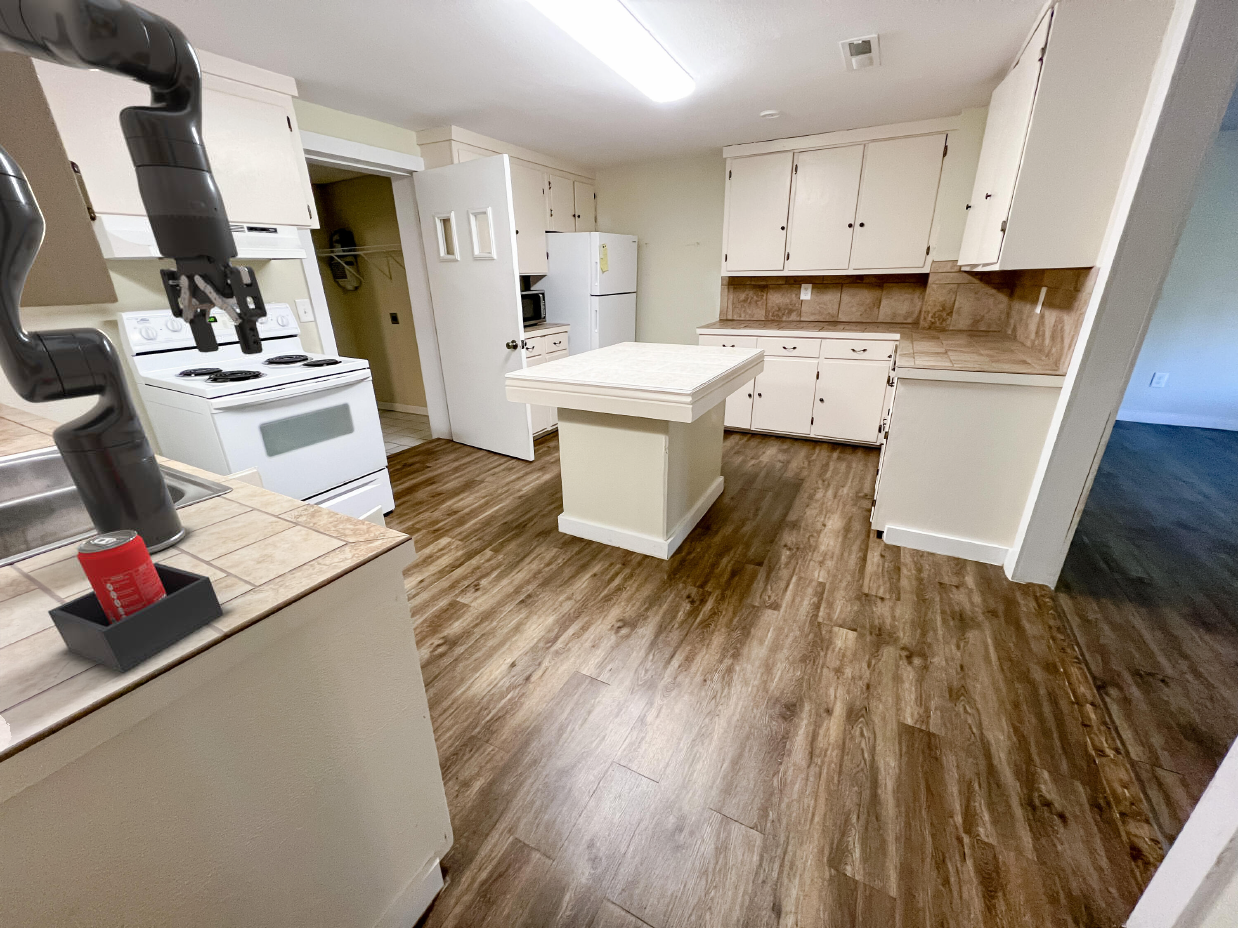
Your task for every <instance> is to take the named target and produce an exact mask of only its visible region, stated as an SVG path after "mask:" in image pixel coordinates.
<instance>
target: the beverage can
mask: <svg viewBox="0 0 1238 928" xmlns="http://www.w3.org/2000/svg"><path fill="white" fill-rule="evenodd" d="M76 550H77V552H78V553H77V555H76V557H77V560H78V562H79V564H80V566H81V568H82V570H83V572H84V574H85V576H86V578H87V580H88V582H89V584H90V585H91V588H92V591H94V592H95V594H96V596H97V598H98V600H99V602H100V604H101V606H102V608H103V610H104V612H105V614H106V616H107V618H108V620H109V622H110V624H111V625H112V624H114V623H115V622H117V621H119V620H121V619H123V618H125V617H127V616H129V615H131V614H133V613H135V612H137V611H139V610H141V609H143V608H145V607H147V606H149V605H151V604H153V603H155V602H157V601H159V600H161V599H163V598H165V597H167V594H166V592H165V590H164V587H163V585H162V583H161V580H160V578H159V576H158V573H157V571H156V569H155V567H154V562H153V559H152V558H151V554H149V553H148V550H147V548H146V546H145V543H144V541H143V539H142V537H140V536H139V535H137V533H136V532H135V531H133V530H122V531H116V532H111V533H107V534H103V535H100V536H98V535H97V536H95V537H92V538H89V539H88V540H85V541H83V542H82V543H81V544H80V545H78V546H77V548H76Z"/></svg>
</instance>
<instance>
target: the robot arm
mask: <svg viewBox="0 0 1238 928" xmlns="http://www.w3.org/2000/svg"><path fill="white" fill-rule="evenodd" d="M0 53H9V54H10V53H12V54H18V55H22V56H24V57H29V58H32V59H36V60H40V61H43V62H48V63H51V64H55V65H59V66H64V67H69V68H73V69H77V70H83V71H92V72H93V71H97V72H98V71H100V72H104V73H107V74H111V75H114V76H117V77H119V78H123V79H126V80H130V81H133V82H136V83H139V84H142V85H145V86H148V89H149V93H150V101H149V105H130V106H125V107H124V108H122V109H121V110H120V111H119V114H118V122H119V126H120V130H121V133H122V135H123V139H124V142H125V144H126V148H127V151H128V154H129V157H130V160H131V162H132V166H133V169H134V172H135V177H136V181H137V187H138V192H139V196H140V199H141V201H142V204H143V207H144V210H145V213H146V216H147V219H148V222H149V226H150V228H151V231H152V234H153V237H154V240H155V244H156V246H157V250H158V252H159V254H160V255H161V256H162V257H163V258H165V259H172V260H174V262H175V265H176V268H161V269H159V274H160V278H161V281H162V284H163V288H164V291H165V295H166V297H167V301H168V305H169V308H170V310H171V311H170V312H171V314H172V316H173V317H174V318H175V319H182V320H183V322H184V323H186V324H188V325H189V328H190V331H191V333H192V337H193V340H194V344H195V346H196V349H197V351H198V352H200V353H205V354H206V353H214V352H218V351H219V349H220V347H219V344H218V340H217V338H216V334H215V330H214V329H213V325H212V322H209V321H210V316H211V311H212V309H215V307H216V308H217V309H219V310H221V311H224V312H225V313H226V314H227V316H228V317H229V318H230V320H231V321H232V322H233V323H234V324H233V327H234V331H235V333H236V337H237V341H238V343H239V347H240V350H241V352H242V354H244V355H256V354H261V353H263V351H264V350H263V344H262V340H261V336H260V332H259V329H258V326H257V323H258V322H259V320H260V319H262V318H266V317H267V316H268V311H267V309H266V305H265V302H264V299H263V296H262V293H261V290H260V286H259V283H258V280H257V276H256V273H255V270H254V268H253V267H252V266H250V265H249V266H246V265H245V266H242V265H240V266H238V265H237V266H236V265H235V266H234V265H233V264H232V262H231V259H236V258H237V257H238V256H239V253H238V248H237V245H236V242H235V239H234V233H233V231H232V227H231V224H230V221H229V217H228V214H227V209H226V206H225V203H224V199H223V196H222V194H221V191H220V189H219V186H218V184H217V182H216V178H215V176H214V173H213V169H212V166H211V163H210V159H209V155H208V151H207V148H206V144H205V142H204V139H203V74H202V68H201V64H200V61H199V57H198V55H197V52H196V51H195V48H194V46H193V45H192V43H191V41H190V40H189V38H188V37H187V35H186V34H185V33H184V32H183V31H182V29H181V28H179V26H178V25H176V23H173V22H172V21H171V20H169V19H167V18H165V17H164V16H161V15H159V14H157V13H155V12H152V11H151V10H148V9H146V8H143V7H141V6H139V5H137V4H135V3H132V2H130V1H128V0H0ZM45 233H46V222H45V218H44V215H43V213H42V210H41V209H40V206H39V203H38V201H37V199H36V197H35V195H34V192H33V190H32V188H31V185H30V183H29V181H28V179H27V176H26V173H24V171H23V169H22V168H21V166H20V165H19V164H18V163H17V161H16V160H15V159H14V157H12V155H11V154H10V153H9V152H8V151H7V150H6V149H5V148H4V147H3V146H2V145H1V144H0V367H1V370H2V372H3V374H4V376H5V378H6V380H7V381H8V383H9V385H10V386H11V388H12V389H13V390H14V392H15V393H16V394H17V395H18V396H19V397H20V398H21V399H22V400H23V401H26V402H28V403H32V404H42V403H44V404H45V403H52V402H59V401H64V400H73V399H79V398H86V397H93V396H98V401H97V402H96V404H95V405H94V406H93V407H92V408H91V409H89V410H88V411H86V412H85V413H83V414H82V415H79V416H77V417H76V418H73V419H72V420H69V421H67V422H65V423H63V424H61V425H59V426H58V427H56V428H55V429H54V430H53V431H52V433H51V434H52V439H53V442H54V444H55V446H56V448H57V450H58V452H59V454H60V456H61V458H62V460H63V463H64V465H65V467H66V469H67V471H68V473H69V475H70V477H71V480H72V483H74V486H75V488H76V490H77V492H78V495H79V497H80V499H81V501H82V503H83V505H84V507H85V510H86V512H87V514H88V516H89V518H90V520H91V522H92V524H93V527H94V529H95V531H96V533H97V536H100V535H103V534H107V533H111V532H116V531H122V530H133V531H135V532H136V533H137V535H139V536H140V537H142V539H143V541H144V543H145V546H146V548H147V550H148V553H149V555H151V554H154V553H156V552H159V551H162V550H165V549H167V548H169V547H172V546H173V545H175V544H177V543H179V542H180V541H181V540H183V539H184V538H185V536H186V534H187V533H186V529H185V527H184V526H183V524H182V521H181V519H180V516H179V514H178V511H177V509H176V505H175V503H174V501H173V498H172V495H171V493H170V491H169V488H168V485H167V483H166V480H165V478H164V476H163V475H164V474H163V472H162V470H161V467H160V465H159V463H158V460H157V457H156V455H155V452H154V450H153V447H152V445H151V443H150V440H149V437H148V435H147V432H146V430H145V428H144V425H143V422H142V420H141V417H140V415H139V412H138V409H137V407H136V404H135V401H134V398H133V396H132V393H131V389H130V387H129V383H128V380H127V377H126V374H125V369H124V367H123V363H122V362H121V359H120V356H119V355H120V354H119V353H118V351H117V349H116V346H115V345H114V343H113V341H112V339H110V337H109V336H108V335H107V334H106V332H104V331H103V330H101V329H99V328H96V327H71V328H70V327H69V328H57V329H40V330H34V331H33V330H29V331H28V330H25V329H24V327H23V324H22V321H21V311H20V310H21V299H22V295H23V291H24V287H25V283H26V279H27V277H28V275H29V273H30V270H31V268H32V266H33V264H34V262H35V260H36V258H37V256H38V253H39V252H40V249H41V247H42V244H43V241H44V238H45ZM249 298H251V300H252V302H253V306H254V307H251V305H250V304H251V303H250V302H251V300H250V299H249ZM180 304H181V305H182V306H183V307H181V305H180ZM238 310H239V311H238Z"/></svg>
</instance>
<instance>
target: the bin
mask: <svg viewBox="0 0 1238 928" xmlns="http://www.w3.org/2000/svg"><path fill="white" fill-rule="evenodd" d="M153 564H154V567H155V569H156V571H157V573H158V576H159V578H160V580H161V583H162V585H163V587H164V590H165V592H166V594H167V597H165V598H163V599H161V600H159V601H157V602H155V603H153V604H151V605H149V606H147V607H145V608H143V609H141V610H139V611H137V612H135V613H133V614H131V615H129V616H127V617H125V618H123V619H121V620H119V621H117V622H115V623H114V624H112V625H111V624H110V622H109V620H108V618H107V616H106V614H105V612H104V610H103V608H102V606H101V604H100V602H99V600H98V598H97V596H96V594H95V592H94V590H91V591H89V592H87V593H86V594H84V595H81V596H78V597H76V598H74V599H72V600H70V601H68V602H65V603H63V604H61V605H59V606H57V607H55V608H52V609H50V610H48V611H47V613H48V615H49V617H50V619H51V620H52V622H53V625H54V626H55V628H56V629H57V631H58V633H59V635H60V637H61V638H62V639H61V640H63V642H64V644H65V646H66V648H67V650H68V651H69V652H71V653H74V654H76V655H79V656H81V657H83V658H86V659H88V660H91V661H94V662H96V663H97V664H101V665H103V666H106V667H108V668H111V669H113V670H115V671H119V672H120V673H122V674H123V673H126V672H127V671H129V670H130V669H132V668H134V667H136V666H137V665H139V664H141V663H142V662H144V661H147V660H148V659H150V658H151V657H153V656H155V655H156V654H159V652H161V651H163V650H165V649H167V648H168V647H170V646H172V645H174V644H175V643H177V642H178V641H180V640H181V639H183V638H185V637H186V636H189V635H190V634H192V633H194V632H196V631H197V630H199V629H200V628H202V627H204V626H205V625H207V624H209V623H211V622H213V621H214V620H216V619H217V618H219V617H221V616H223V615H224V612H223V610H222V607H221V604H220V601H219V599H218V596H217V593H216V591H215V589H214V587H213V584H212V582H211V578H210V577H209V576H206V575H202V574H199V573H195V572H193V571H192V572H191V571H188V570H185V569H180V568H177V567H173V566H170V565H167V564H162V563H158V562H155V563H154V562H153Z"/></svg>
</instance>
